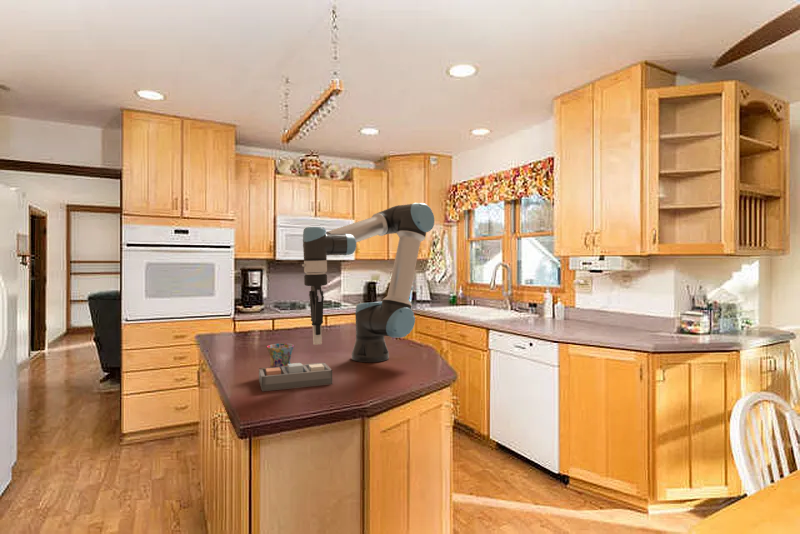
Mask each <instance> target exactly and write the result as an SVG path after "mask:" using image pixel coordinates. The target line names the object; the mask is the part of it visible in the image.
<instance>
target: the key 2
mask: <svg viewBox="0 0 800 534" xmlns="http://www.w3.org/2000/svg"><path fill="white" fill-rule="evenodd" d="M312 364H313V365H309V371H310V372H311V371H322V370H324V366H323V365H322V364H315V363H312Z"/></svg>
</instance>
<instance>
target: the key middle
mask: <svg viewBox="0 0 800 534" xmlns="http://www.w3.org/2000/svg"><path fill="white" fill-rule="evenodd" d="M287 365H288V373H289V374H290V373H300V372H303V363H301V362H295V363H291V364H287Z"/></svg>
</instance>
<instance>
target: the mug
mask: <svg viewBox="0 0 800 534" xmlns="http://www.w3.org/2000/svg"><path fill="white" fill-rule="evenodd" d="M294 347H295V345H294V343H293V344H292V343H283V342H281V343H273V344H269V345H267V346H266V350H267V352H268V354H269V358H270V359H269V360H270V361H269V362H270V366H269V367H281V366H288V365H287V364H292V363H291V358H292V353H293V350H294Z"/></svg>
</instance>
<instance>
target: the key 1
mask: <svg viewBox="0 0 800 534" xmlns="http://www.w3.org/2000/svg"><path fill="white" fill-rule="evenodd" d="M266 368H267V369H266V376H268V375H279V374H281V369H280V367H278V368H269V367H266Z"/></svg>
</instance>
